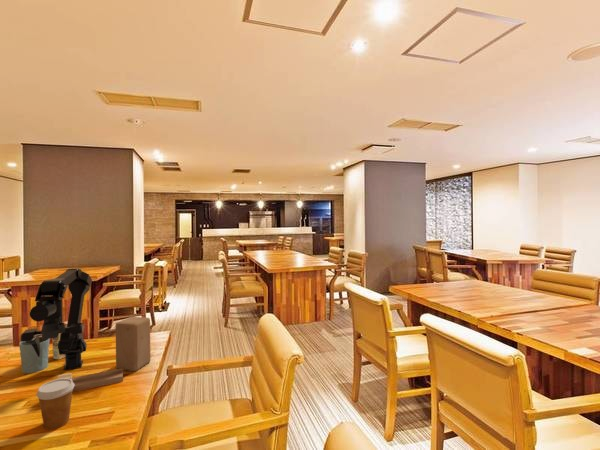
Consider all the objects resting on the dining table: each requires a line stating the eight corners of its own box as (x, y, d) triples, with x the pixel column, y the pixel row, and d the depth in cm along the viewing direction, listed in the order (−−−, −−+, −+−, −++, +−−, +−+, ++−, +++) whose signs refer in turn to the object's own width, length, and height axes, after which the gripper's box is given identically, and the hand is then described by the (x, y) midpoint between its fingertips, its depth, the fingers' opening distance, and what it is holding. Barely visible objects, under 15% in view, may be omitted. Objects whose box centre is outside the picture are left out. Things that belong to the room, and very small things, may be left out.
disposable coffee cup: (69, 410, 110) (68, 374, 109) (79, 421, 103) (78, 384, 103) (33, 424, 102) (32, 386, 102) (42, 437, 96) (41, 396, 96)
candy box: (59, 360, 148) (58, 326, 148) (52, 359, 149) (51, 325, 149) (77, 352, 157) (76, 320, 156) (70, 351, 158) (69, 319, 158)
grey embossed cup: (16, 376, 133) (15, 346, 133) (23, 366, 142) (22, 338, 142) (47, 370, 138) (47, 342, 138) (52, 361, 147) (52, 334, 147)
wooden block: (136, 372, 136) (135, 324, 136) (115, 370, 138) (114, 322, 138) (151, 362, 146) (151, 317, 146) (131, 360, 148) (131, 315, 148)
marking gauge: (62, 384, 126) (62, 366, 126) (75, 382, 128) (74, 364, 128) (55, 402, 114) (55, 382, 114) (69, 399, 116) (69, 379, 116)
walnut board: (54, 386, 125) (54, 381, 125) (123, 372, 136) (123, 368, 136) (50, 396, 118) (49, 390, 118) (122, 381, 129) (122, 376, 129)
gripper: (15, 323, 114) (16, 367, 114) (80, 315, 123) (80, 357, 123) (24, 314, 124) (25, 355, 124) (83, 308, 133) (84, 346, 133)
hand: (54, 353), depth 126 cm, fingers open, 9 cm apart
